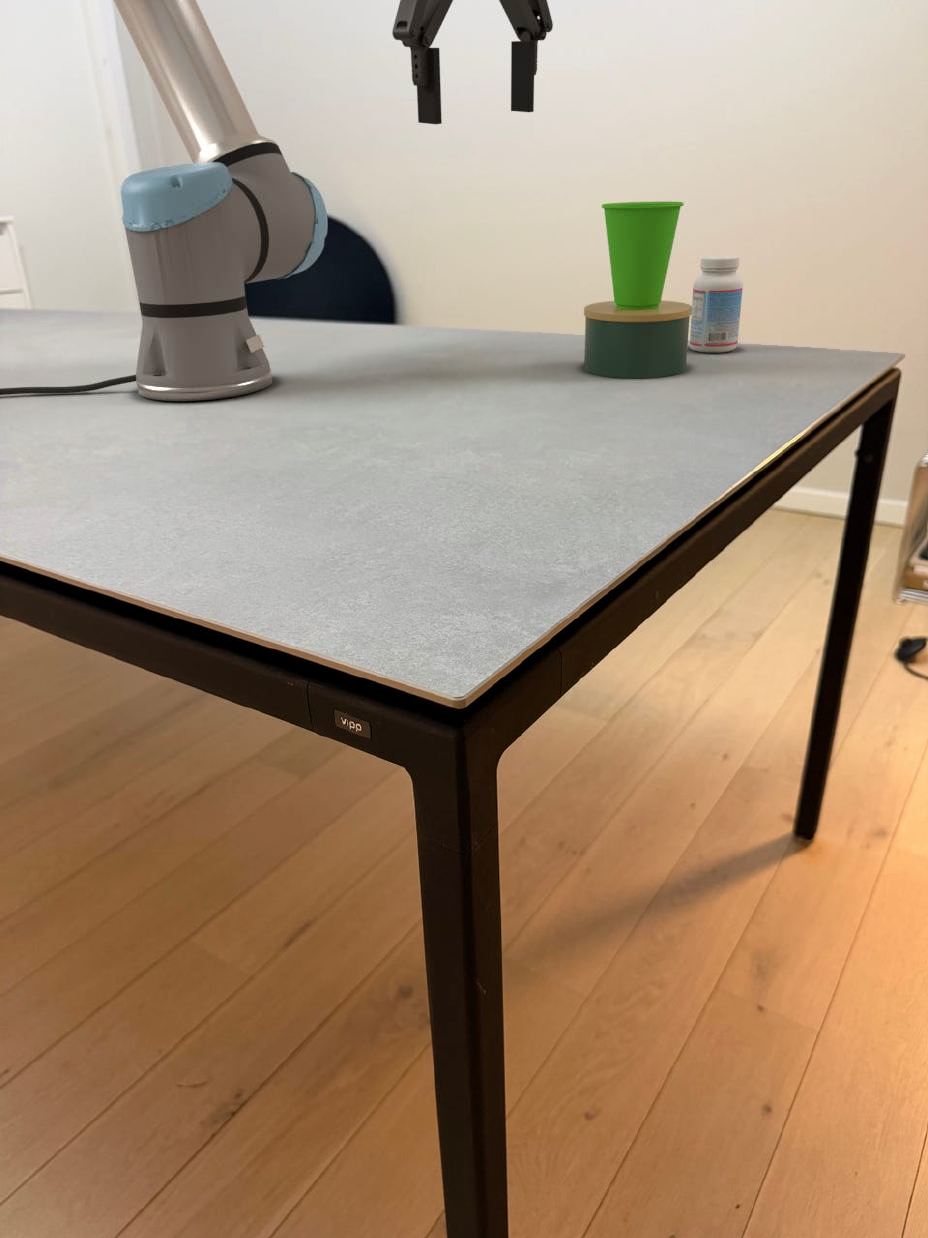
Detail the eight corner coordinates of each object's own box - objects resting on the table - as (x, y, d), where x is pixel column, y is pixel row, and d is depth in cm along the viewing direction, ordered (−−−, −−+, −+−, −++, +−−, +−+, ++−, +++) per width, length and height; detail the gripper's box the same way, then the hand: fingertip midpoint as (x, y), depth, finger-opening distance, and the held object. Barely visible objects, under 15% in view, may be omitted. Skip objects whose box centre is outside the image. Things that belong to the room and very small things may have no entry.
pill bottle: (743, 347, 120) (752, 254, 115) (727, 355, 115) (736, 259, 110) (699, 343, 123) (706, 253, 118) (681, 351, 119) (688, 258, 114)
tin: (605, 382, 103) (608, 317, 100) (567, 362, 114) (568, 303, 111) (706, 373, 106) (711, 310, 103) (659, 354, 117) (663, 297, 114)
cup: (594, 312, 104) (597, 206, 99) (602, 301, 112) (605, 202, 107) (675, 312, 102) (682, 204, 97) (678, 301, 110) (685, 200, 105)
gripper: (398, -159, 76) (411, 131, 88) (593, -139, 90) (582, 108, 102) (342, -148, 80) (363, 125, 92) (536, -131, 94) (532, 104, 106)
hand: (477, 117), depth 97 cm, fingers open, 13 cm apart
